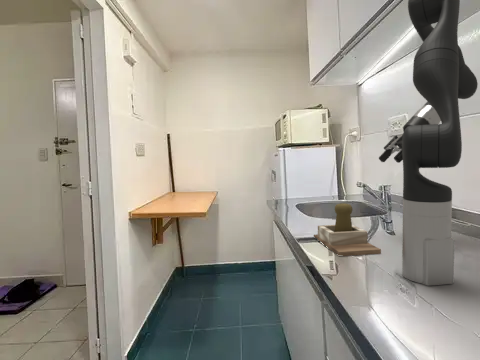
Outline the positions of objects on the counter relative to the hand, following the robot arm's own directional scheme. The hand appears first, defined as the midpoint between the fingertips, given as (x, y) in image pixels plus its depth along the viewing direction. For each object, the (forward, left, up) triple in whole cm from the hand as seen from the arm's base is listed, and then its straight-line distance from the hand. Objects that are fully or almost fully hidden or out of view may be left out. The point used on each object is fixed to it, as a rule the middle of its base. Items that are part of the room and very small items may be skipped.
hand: (388, 160), depth 104 cm
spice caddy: (-4, +16, -25) cm, 30 cm away
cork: (-1, +15, -24) cm, 29 cm away
